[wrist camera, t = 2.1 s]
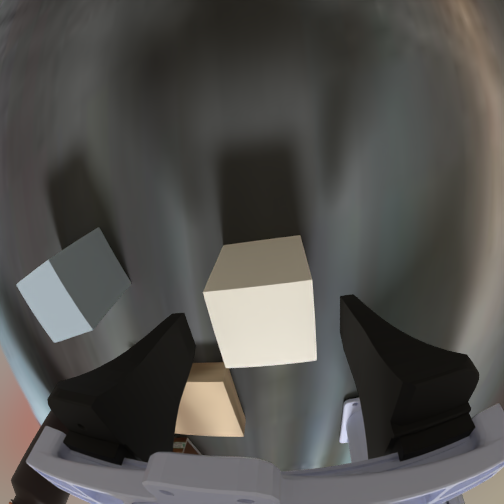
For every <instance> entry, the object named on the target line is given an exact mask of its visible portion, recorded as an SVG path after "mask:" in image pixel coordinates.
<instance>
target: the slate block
mask: <svg viewBox="0 0 504 504" xmlns="http://www.w3.org/2000/svg"><path fill="white" fill-rule="evenodd" d="M131 284H132V283H131V282H130V280H129V278H128V277H127V275H126V273H125V272H124V270H123V268H122V267H121V265H120V263H119V262H118V260H117V258H116V256H115V255H114V253H113V251H112V249H111V248H110V246H109V244H108V242H107V240H106V239H105V237H104V235H103V233H102V231H101V229H100V228H99V227H98V228H96V229H95V230H93V231H91V232H90V233H88V234H87V235H85V236H83V237H82V238H80V239H79V240H77V241H76V242H74V243H72V244H71V245H69V246H68V247H66V248H65V249H63V250H62V251H60V252H59V253H57V254H56V255H54V256H53V257H52V258H50V259H49V260H47V261H46V262H45V263H43V264H42V265H41V266H39V267H38V268H37V269H35V270H34V271H33V272H31V273H30V274H29V275H28V276H26V277H25V278H24V279H23V280H21V281H20V282H19V283H18V284H16V285H17V287H18V289H19V290H20V292H21V294H22V296H23V297H24V299H25V300H26V302H27V304H28V305H29V307H30V308H31V310H32V312H33V313H34V315H35V316H36V318H37V319H38V321H39V322H40V324H41V325H42V326H43V328H44V329H45V331H46V332H47V334H48V335H49V336H50V338H51V339H52V340H53V342H54V343H56V342H59V341H62V340H65V339H68V338H71V337H74V336H77V335H80V334H83V333H86V332H89V331H92V330H93V329H94V328H95V327H96V326H97V324H98V323H99V322H100V321H101V320H102V318H103V317H104V316H105V315H106V313H107V312H108V311H109V310H110V309H111V307H112V306H113V305H114V304H115V303H116V301H117V300H118V299H119V298H120V297H121V295H122V294H123V293H124V292H125V291H126V290H127V288H128V287H129V286H130V285H131Z"/></svg>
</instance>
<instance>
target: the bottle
mask: <svg viewBox="0 0 504 504" xmlns="http://www.w3.org/2000/svg"><path fill="white" fill-rule="evenodd" d="M45 426H48V427H51V428H54V429H56V430H59V431H61V432H63V433H64V434H66V435H67V433H68V431H69V430H68V429H67V428H66V427H65V425H64V424H63V423H62V422H61V421H60V420H59V419H58V418H57V416H56V415H55V414H54V413H53V412H52V410H51V411H50V413H49V414H48V416H47V417H46V419H45V421H44V422H43V424H42V426H41V427H40V429H39V431H38V432H37V434H36V436H35V438H34V439H33V441H32V442H31V444H30V446H29V448H28V449H27V451H26V453H25V455H24V456H23V458H22V460H21V462H20V464H19V466H18V467H17V470H16V471H15V473H14V475H13V477H12V479H11V482H12V485H13V488H14V491H15V493H16V496H15V498H14V500H11V501H12V503H11V502H9V504H66V502H67V499H68V497H69V495H70V493H67V492H65V491H63V490H62V489H60V488H58V487H56V486H55V485H54V484H52V483H51V482H50V481H48V480H47V479H46V478H44V477H43V476H42V475H40V474H39V473H38V472H37V471H35V470H34V469H33V468H32V467H31V466H29V465H28V464H27V463H26V460H27V458H28V456H29V454H30V453H31V451H32V449H33V447H34V445H35V444H36V442H37V440H38V438H39V437H40V435H41V433H42V431H43V430H44V428H45Z"/></svg>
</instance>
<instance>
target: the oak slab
mask: <svg viewBox="0 0 504 504" xmlns="http://www.w3.org/2000/svg"><path fill="white" fill-rule="evenodd" d="M245 421H246V419H245V416H244V413H243V410H242V407H241V404H240V401H239V398H238V395H237V392H236V389H235V386H234V383H233V380H232V377H231V373H230V370H229V368H226V367H225V364H224V362H215V363H193V364H192V367H191V370H190V374H189V377H188V380H187V383H186V386H185V389H184V392H183V395H182V398H181V401H180V405H179V410H178V415H177V421H176V427H175V433H176V434H187V435H201V436H228V437H244V430H245Z"/></svg>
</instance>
